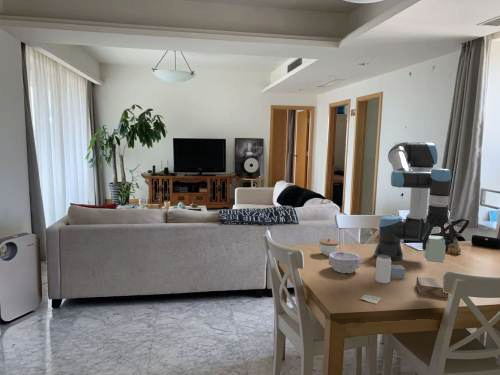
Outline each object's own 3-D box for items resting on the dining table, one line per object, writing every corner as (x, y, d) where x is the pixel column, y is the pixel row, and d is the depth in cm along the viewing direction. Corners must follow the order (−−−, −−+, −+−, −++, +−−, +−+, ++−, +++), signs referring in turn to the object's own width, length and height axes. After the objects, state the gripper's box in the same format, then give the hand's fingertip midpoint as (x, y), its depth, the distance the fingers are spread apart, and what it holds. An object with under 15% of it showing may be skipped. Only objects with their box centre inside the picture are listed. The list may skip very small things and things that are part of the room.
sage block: (427, 261, 157) (429, 238, 156) (425, 257, 163) (427, 235, 162) (443, 262, 156) (445, 239, 154) (440, 258, 161) (442, 236, 160)
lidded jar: (340, 253, 214) (341, 238, 213) (334, 258, 205) (334, 242, 204) (322, 250, 220) (323, 235, 218) (315, 255, 211) (316, 239, 209)
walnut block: (419, 294, 158) (420, 285, 157) (416, 284, 168) (416, 276, 168) (448, 297, 154) (449, 288, 154) (442, 288, 165) (443, 279, 164)
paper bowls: (338, 263, 196) (339, 249, 195) (365, 271, 185) (366, 255, 185) (322, 270, 186) (323, 254, 185) (349, 278, 175) (350, 262, 174)
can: (388, 285, 167) (389, 259, 166) (373, 282, 171) (375, 256, 169) (391, 280, 173) (392, 255, 171) (377, 277, 176) (378, 253, 175)
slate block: (393, 278, 176) (394, 268, 175) (390, 274, 181) (390, 265, 180) (404, 278, 176) (404, 268, 175) (400, 275, 181) (401, 265, 180)
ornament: (443, 252, 220) (445, 236, 218) (446, 250, 224) (447, 234, 223) (458, 255, 214) (460, 238, 213) (461, 253, 219) (462, 237, 218)
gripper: (415, 205, 156) (411, 258, 158) (465, 208, 150) (461, 263, 153) (413, 202, 163) (409, 253, 166) (461, 205, 157) (456, 257, 160)
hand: (434, 258), depth 159 cm, fingers closed on sage block, 6 cm apart
